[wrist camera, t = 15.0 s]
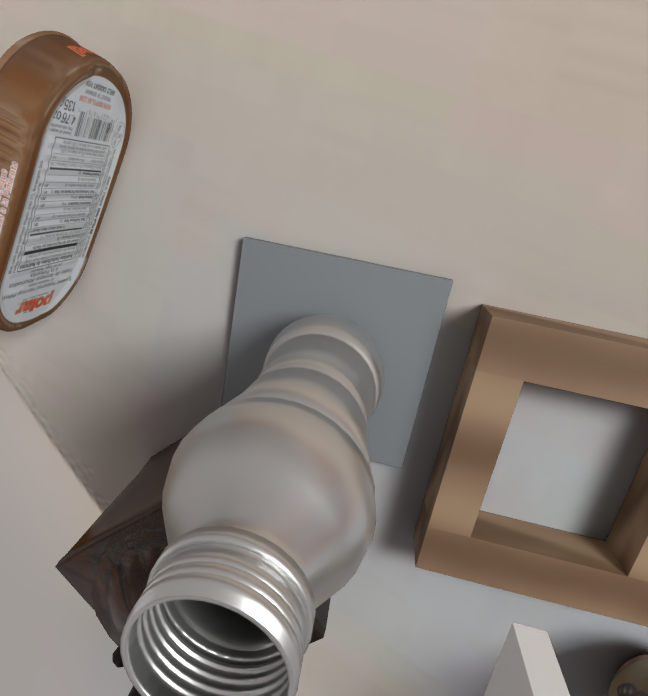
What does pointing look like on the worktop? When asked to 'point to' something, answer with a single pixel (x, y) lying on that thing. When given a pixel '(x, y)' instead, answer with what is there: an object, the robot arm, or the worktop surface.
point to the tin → (54, 168)
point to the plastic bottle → (262, 521)
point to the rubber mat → (350, 303)
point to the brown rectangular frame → (482, 452)
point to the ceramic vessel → (631, 678)
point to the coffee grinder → (130, 553)
